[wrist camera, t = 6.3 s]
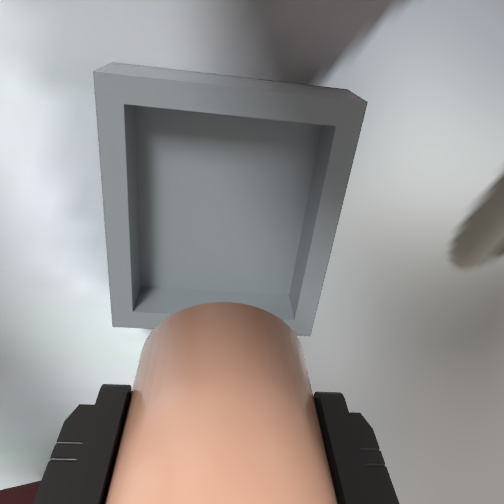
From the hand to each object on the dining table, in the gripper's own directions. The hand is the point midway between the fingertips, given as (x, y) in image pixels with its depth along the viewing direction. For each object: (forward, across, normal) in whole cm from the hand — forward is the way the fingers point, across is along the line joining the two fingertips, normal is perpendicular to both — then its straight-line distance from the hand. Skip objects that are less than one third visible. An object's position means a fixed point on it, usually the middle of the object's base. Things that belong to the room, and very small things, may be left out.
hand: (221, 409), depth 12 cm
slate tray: (+15, 0, 0) cm, 15 cm away
